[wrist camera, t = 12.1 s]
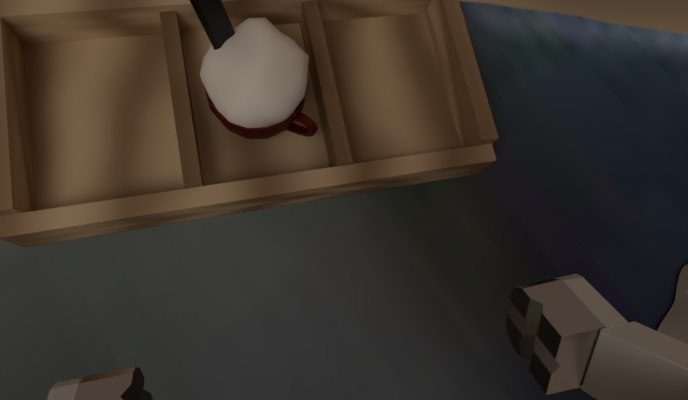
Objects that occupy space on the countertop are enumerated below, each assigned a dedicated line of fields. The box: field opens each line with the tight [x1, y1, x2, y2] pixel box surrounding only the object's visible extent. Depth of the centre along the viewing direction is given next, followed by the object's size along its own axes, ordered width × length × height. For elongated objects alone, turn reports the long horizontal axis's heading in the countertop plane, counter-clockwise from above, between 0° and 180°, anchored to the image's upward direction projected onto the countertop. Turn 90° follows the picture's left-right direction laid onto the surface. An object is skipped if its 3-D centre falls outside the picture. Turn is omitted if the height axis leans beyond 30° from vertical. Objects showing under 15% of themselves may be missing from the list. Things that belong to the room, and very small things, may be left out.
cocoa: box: [190, 0, 318, 139], centre depth 27 cm, size 10×6×12 cm, turn 32°
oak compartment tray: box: [0, 0, 499, 247], centre depth 32 cm, size 30×14×4 cm, turn 102°
